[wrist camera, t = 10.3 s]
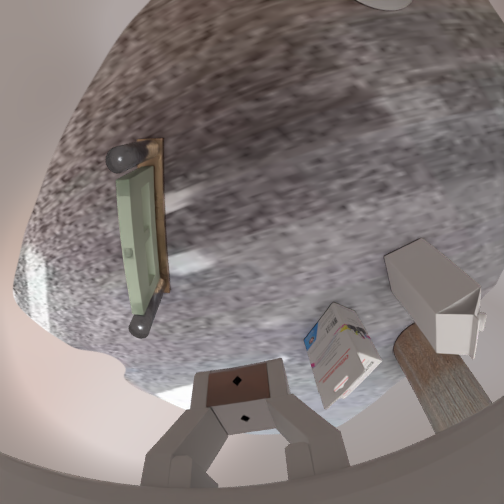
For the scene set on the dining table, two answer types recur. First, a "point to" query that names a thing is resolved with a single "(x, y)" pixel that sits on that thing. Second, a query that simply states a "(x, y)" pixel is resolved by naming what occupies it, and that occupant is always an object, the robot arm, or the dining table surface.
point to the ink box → (340, 353)
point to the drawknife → (153, 155)
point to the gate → (138, 235)
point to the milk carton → (437, 297)
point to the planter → (439, 380)
